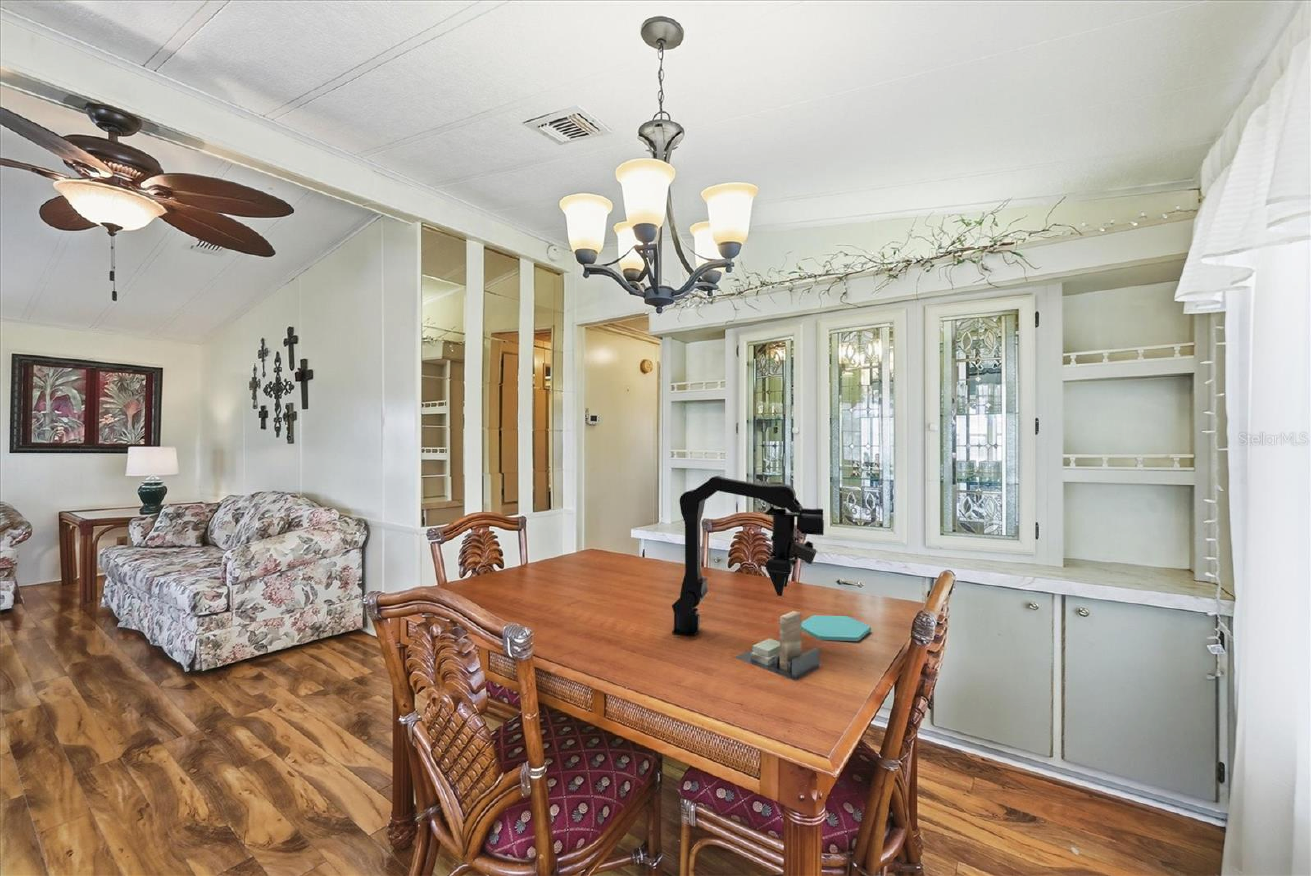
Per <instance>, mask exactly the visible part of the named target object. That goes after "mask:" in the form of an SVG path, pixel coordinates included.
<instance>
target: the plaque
mask: <svg viewBox="0 0 1311 876" xmlns="http://www.w3.org/2000/svg"><path fill="white" fill-rule="evenodd" d="M801 631H802V632H804V633H807V634H809V635H810V636H812V637H813V638H815V639H817V640H819V641H837V642H839V641H842V642H847V641H848V642H859V641H861V639H862V638H864V637H865V636H866V635H868V633H870V632H871V631H872V626H871V625H868V624H866V623H863V622H861V621H859V620H857V619H855V618H852V617H850V616H848V615H816V614H815V615H811V616H809V617H808V618H806V619H805V620H804V621H801Z"/></svg>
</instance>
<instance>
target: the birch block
mask: <svg viewBox="0 0 1311 876" xmlns="http://www.w3.org/2000/svg"><path fill="white" fill-rule="evenodd" d="M802 615H803V614H802V612H800V611H796V610H793V611H791V612H788V613H785V614H783V615H780V616H779V642H780V668H781V669H784V670H786V671H787V661H789V660H791V659H793V658H795V657H797V656H799V655H801V654H802V630H801V622H802V619H803V618H802Z"/></svg>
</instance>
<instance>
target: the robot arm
mask: <svg viewBox="0 0 1311 876" xmlns="http://www.w3.org/2000/svg"><path fill="white" fill-rule="evenodd" d="M717 492H722V493H728V494H733V495H737V496H743V497H748V498H753V499H758V500H761V501H763V502H765V503H767V504H769V505H771V506H770V507H769V509H767V511H765V512H764V514H765V515H766V516H772V528H771V529H772V532H771V534H772V535H771V536H770V541H771V543H772V544H771V552H770V557H769V558H768V559H767V560H766V562H765V570H766V572H767V574H768V576H769V579H770V581H771V583H772V584H773V587H774V590H775V592H776V595H777V596H779V597H783V594H784V588H786V587H788V582H789V578H790V574H792V572H793V566H794V565H795V564H797V562H798V559H800V560H802V561H803V562H805V563H806V564H809V565H813V561H814V559H815V556H816V554H817V552H818V551H817V549H816V548H814V543H813V542H811V541H809V540H807V541H806V542H804V543H803V542H799V541H797V536H796V535H795V527H796V530H797V531H799V532H800V534H801V535H813V536H815V535H816V536H824V533H825V531H824V529H825V520H824V509H823V508H804V507H803V505H802V504H801V503H800V502H799V500H798V499H797V495H796V494H797V493H796V491H795V489H794V488H793V486H791V485H790V484H783V483H782V484H781V483H780V484H776V483H773V484H771V483H770V484H762V483H754V482H750V481H744V480H738V479H733V478H728V477H723V476H720V475H715V476H711V477H710V478H709V480H707V481H706V482H704V483H703V484H701V485H700V486H698V487H697V488H695V489H690V490H688V491H685V492H683V494H681V495H680V498H679V500H678V501H679V506H680V514H681V515H682V520H683V523H684V572H685V573H684V575H683V581H682V583H681V587H680V588H681V589H680V593H679V598H678V599H677V600H676V601H675V602H674V603H672V605H671V607H672V611H673V630H672V632H671V633H672V634H674V635H683V636H684V635H685V636H691V637H692V636H693V637H694V636H696V635H697V633H698V632H699V631H700V629H701V627H700V625H701V623H700V622H701V615H700V614H699V609H698V608H697V607H698V606H699V604H700V603H701V602H702V601H703V600H704V599H705V597H706V595H707V593H708V592H709V590H708V586H707V585H708V577H703V574H702V572H701V521H702V517H703V514H704V509H705V503H706V500H708V499H709V498H711V497H712V496H713V495H714V494H716V493H717ZM787 510H788V511H789V512H788V511H787ZM795 521H796V522H795ZM795 524H796V525H795Z"/></svg>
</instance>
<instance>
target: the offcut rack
mask: <svg viewBox="0 0 1311 876" xmlns="http://www.w3.org/2000/svg"><path fill="white" fill-rule="evenodd" d="M752 652H753V648H752V649H750V650H748V651H746V652H744V653H741V654H739V655H736V656H735V657H734V658H735V659H737V660H740V661H742V662H746V663H748V664H751V665H753V666H755V667H757V668H760V669H764V670H766V671H769V672H771V673H773V674H777V675H779V676H781V677H785V678H787V679H790V680H792V681H797V680H800V679H801V678H802V677H805V676H807V675H808V674H810V673H812V672H813V671H815V670H817V669H819V668H820V667H823V665H824V664H821V663H820V648H818V647H814V648H812V649H809V650H807V651H805V652H802V653H801V655H799V656H797V657H795V658H793V659H791V660H789V661H787V671H786V670H784V669H781V668H780V654H778V655H776V656H774V663H773V664H771V665H769V666H767V665H765V664H762V663H759V662H757V661H754V660H751V653H752Z"/></svg>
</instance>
